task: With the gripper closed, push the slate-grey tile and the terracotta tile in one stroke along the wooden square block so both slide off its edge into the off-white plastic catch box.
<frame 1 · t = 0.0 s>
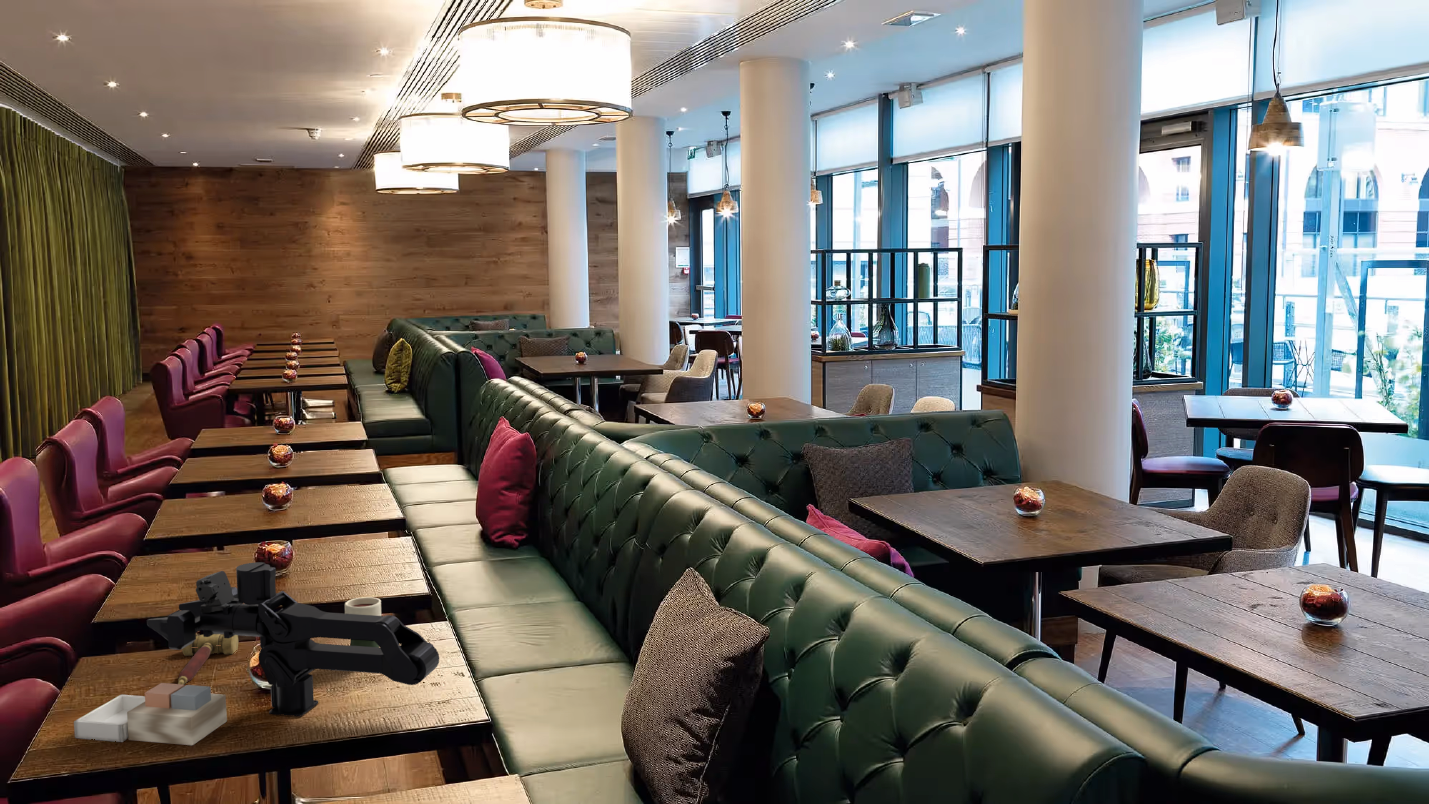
hand: (163, 614, 206), 17 cm above the table, tool horizontal, fingers open, 9 cm apart
wooden square block: (178, 730, 194), on the table
character mug: (364, 664, 227), on the table
terracotta tile: (165, 702, 194), point 5 cm above the table, touching wooden square block
catch box: (122, 725, 196), on the table
slate tile: (191, 704, 193), point 5 cm above the table, touching wooden square block
gavel: (198, 669, 224), on the table
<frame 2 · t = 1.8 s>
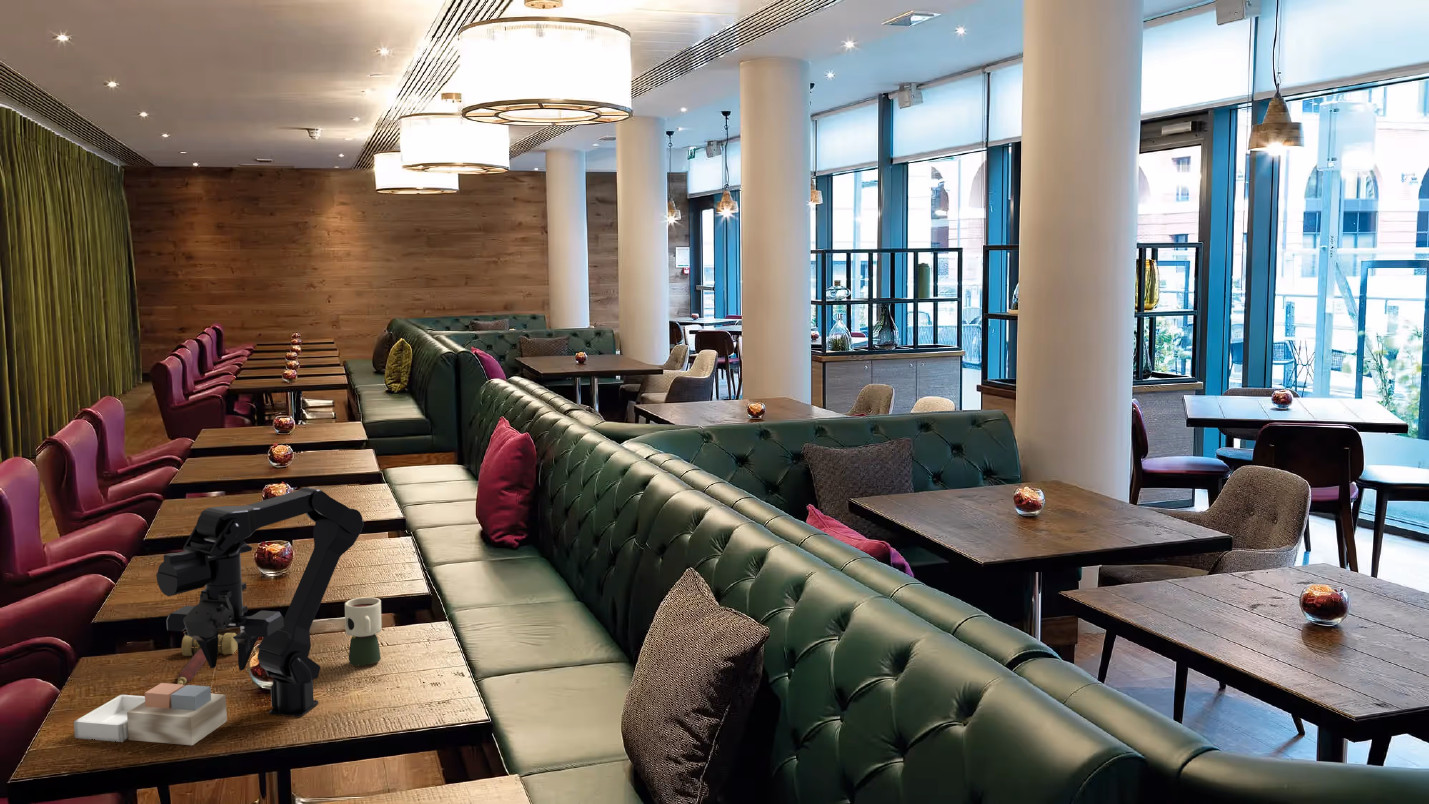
hand: (227, 668, 191), 12 cm above the table, tool pointing down, fingers open, 5 cm apart
nothing on the table moved.
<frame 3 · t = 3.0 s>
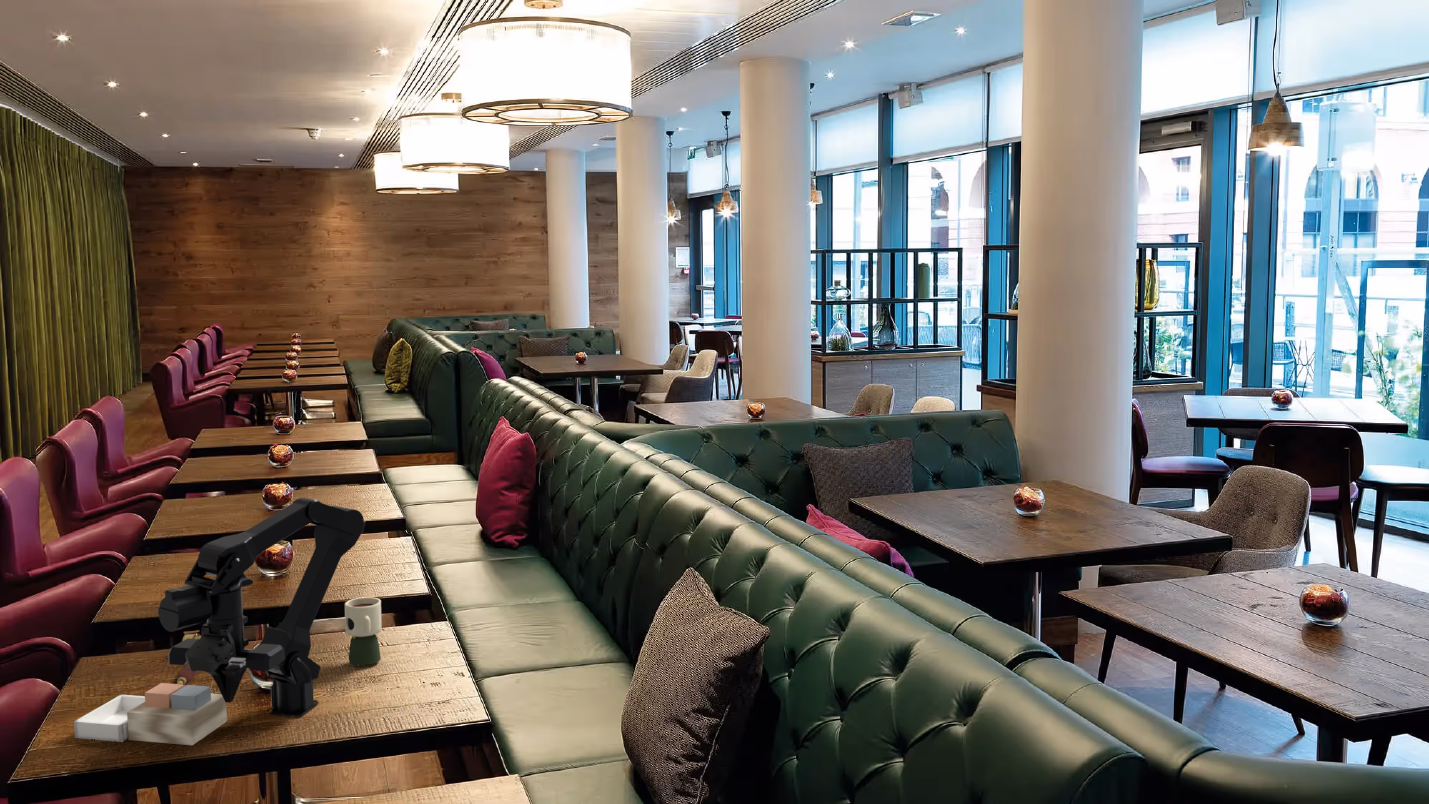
hand: (229, 701, 192), 6 cm above the table, tool pointing down, fingers closed
nothing on the table moved.
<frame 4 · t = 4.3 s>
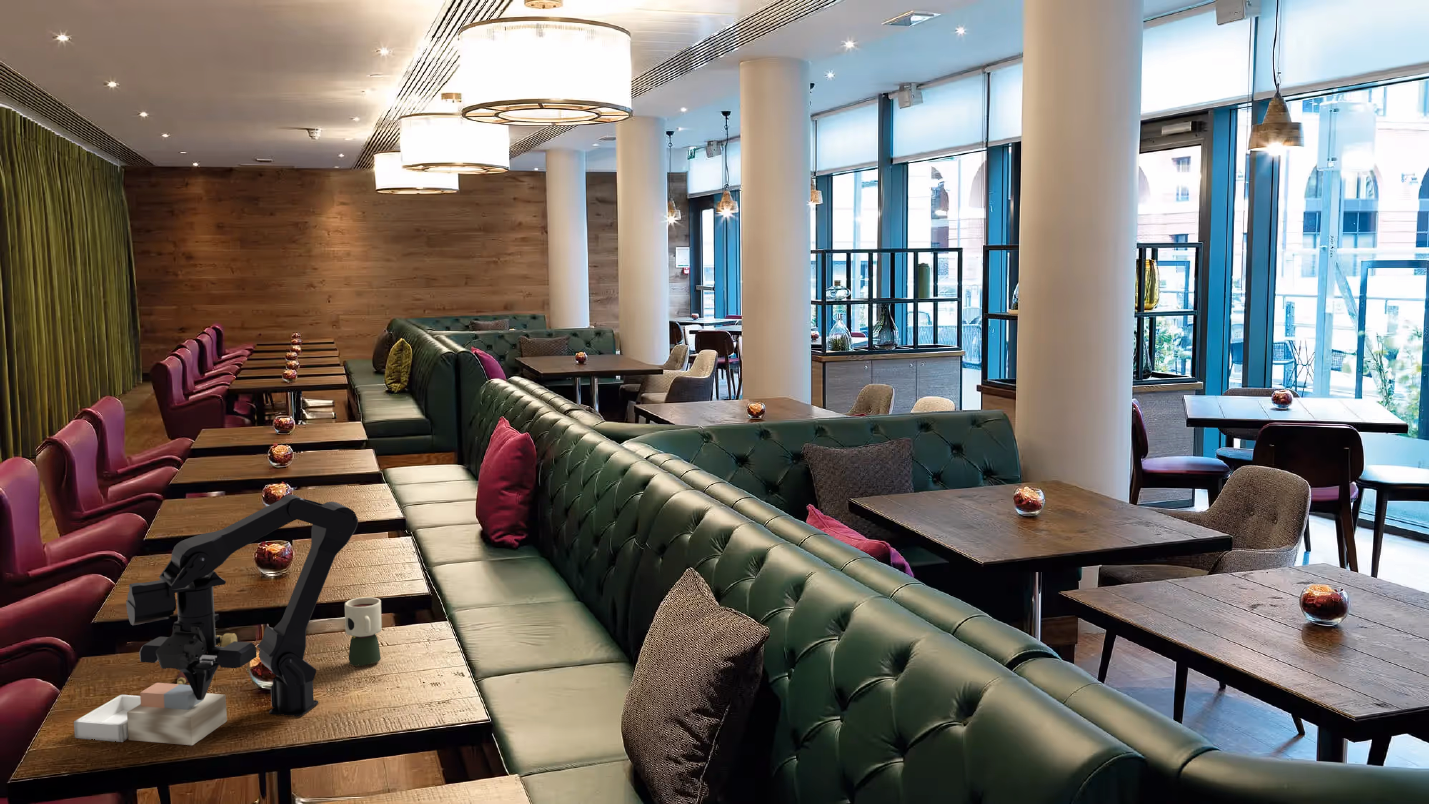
hand: (200, 699, 193), 6 cm above the table, tool pointing down, fingers closed
terracotta tile: (161, 702, 194), point 5 cm above the table, touching wooden square block, slate tile
slate tile: (184, 703, 194), point 5 cm above the table, touching gripper, terracotta tile
everything else where it was.
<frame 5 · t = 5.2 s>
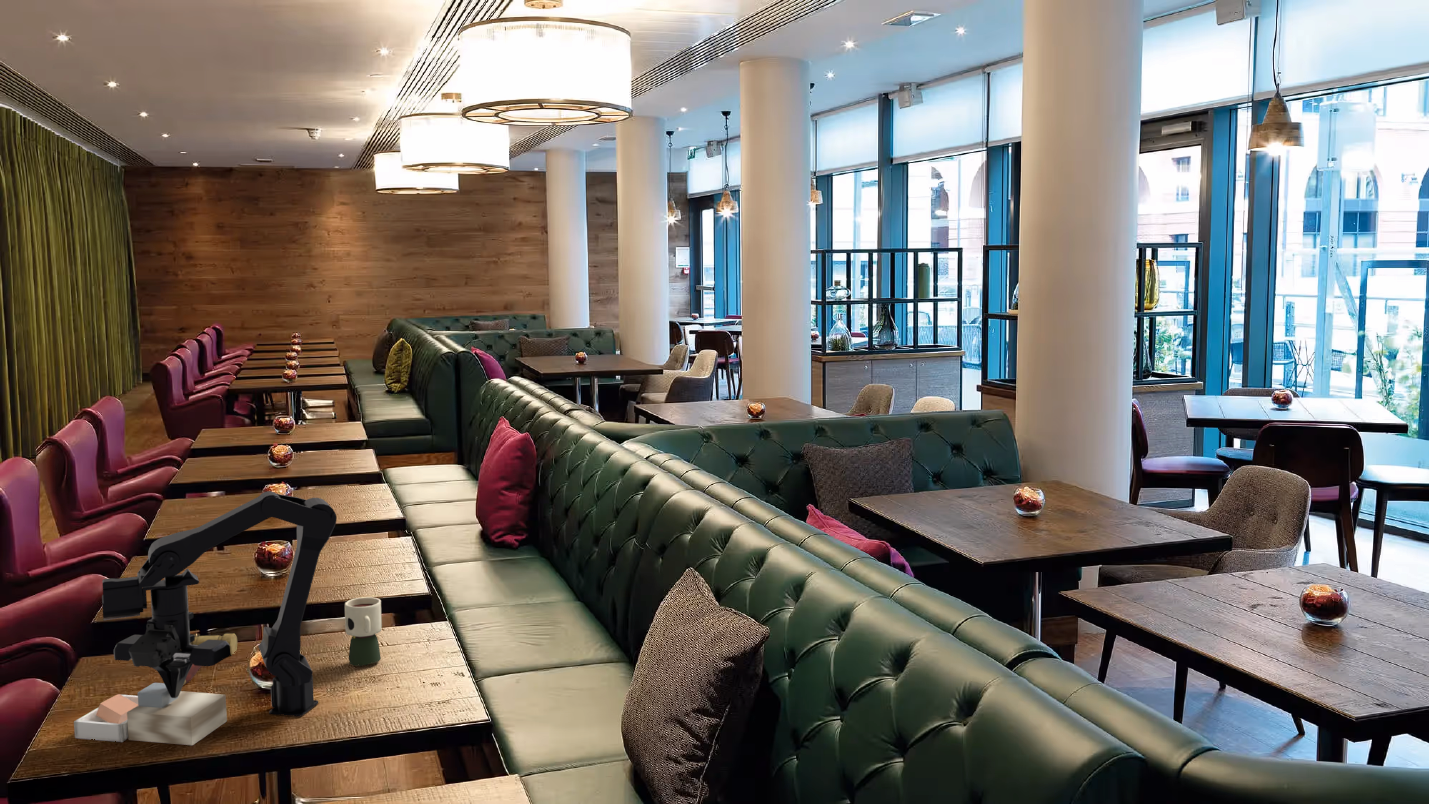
hand: (175, 697, 194), 6 cm above the table, tool pointing down, fingers closed
terracotta tile: (119, 704, 196), point 4 cm above the table, tilted 157°
slate tile: (158, 701, 194), point 5 cm above the table, touching wooden square block, gripper
everything else where it was.
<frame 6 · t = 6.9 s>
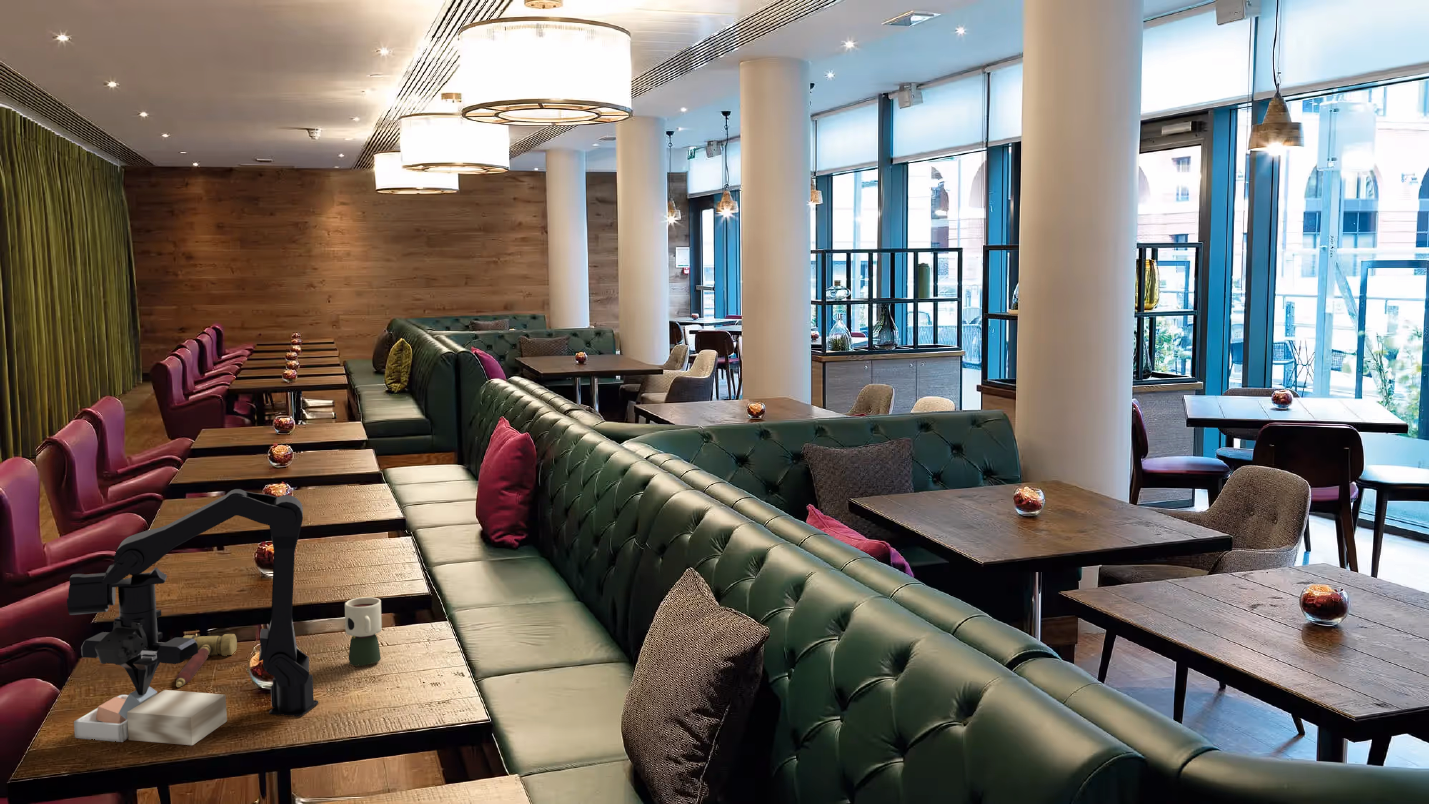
hand: (142, 694, 195), 6 cm above the table, tool pointing down, fingers closed, pressing on slate tile
terracotta tile: (118, 705, 197), point 3 cm above the table, tilted 166°, touching catch box, slate tile
slate tile: (143, 706, 196), point 4 cm above the table, tilted 57°, touching gripper, terracotta tile
everything else where it was.
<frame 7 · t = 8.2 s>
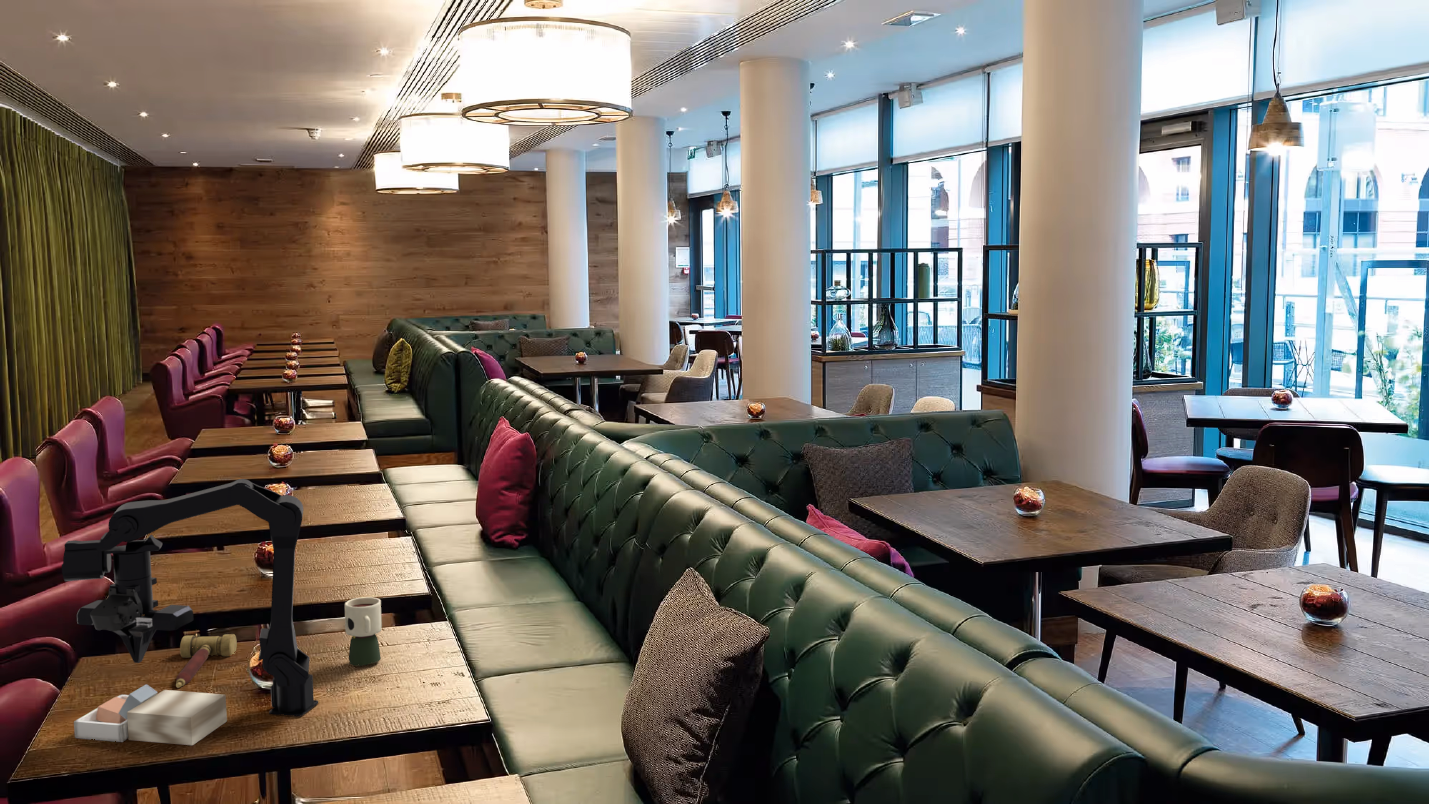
hand: (138, 662, 194), 12 cm above the table, tool pointing down, fingers closed
slate tile: (143, 706, 196), point 4 cm above the table, tilted 56°, touching wooden square block, terracotta tile
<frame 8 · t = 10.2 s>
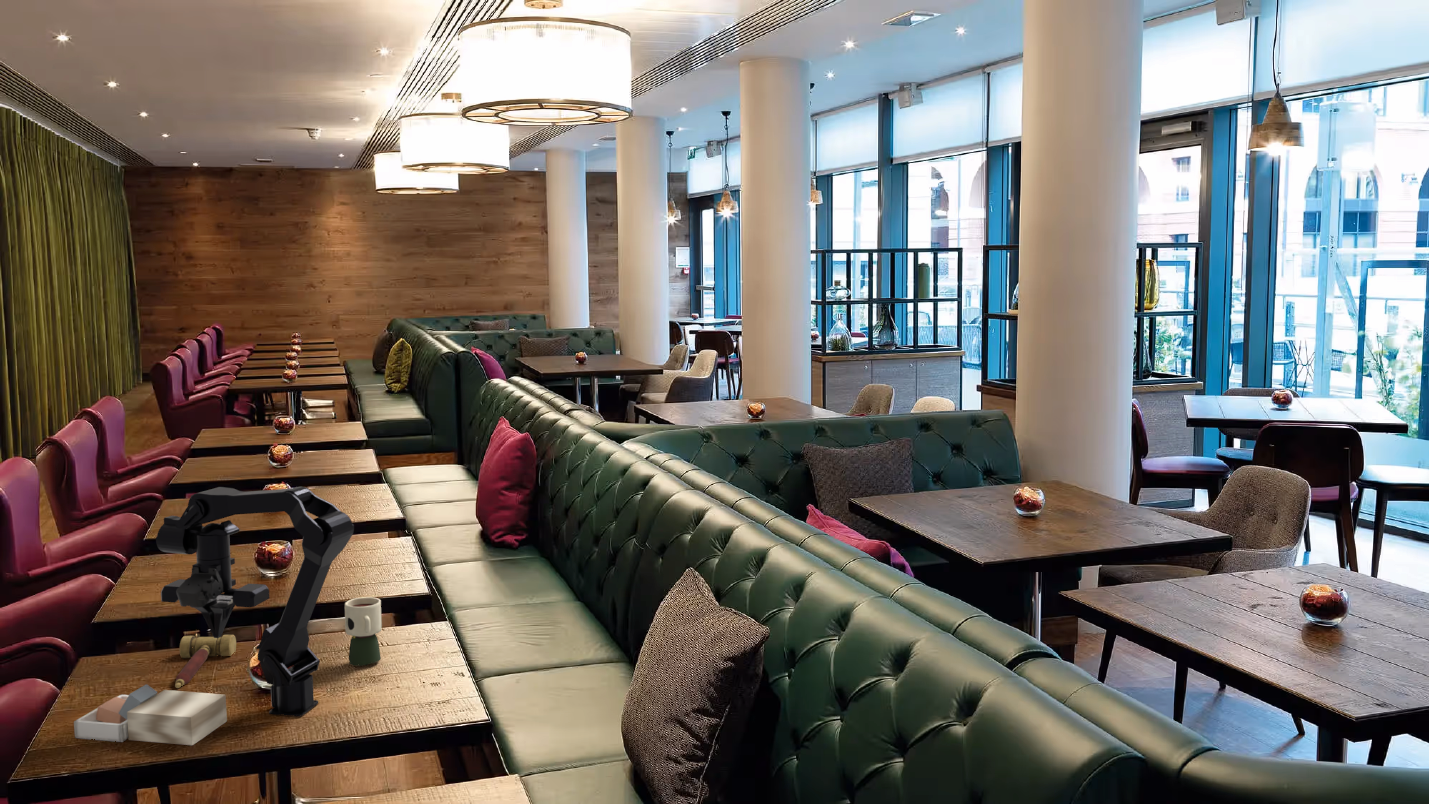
hand: (217, 637, 207), 12 cm above the table, tool pointing down, fingers closed
at the end: terracotta tile inside the target area (1.3 cm from its centre), point 3.4 cm above the table; slate tile inside the target area (4.0 cm from its centre), point 3.6 cm above the table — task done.
